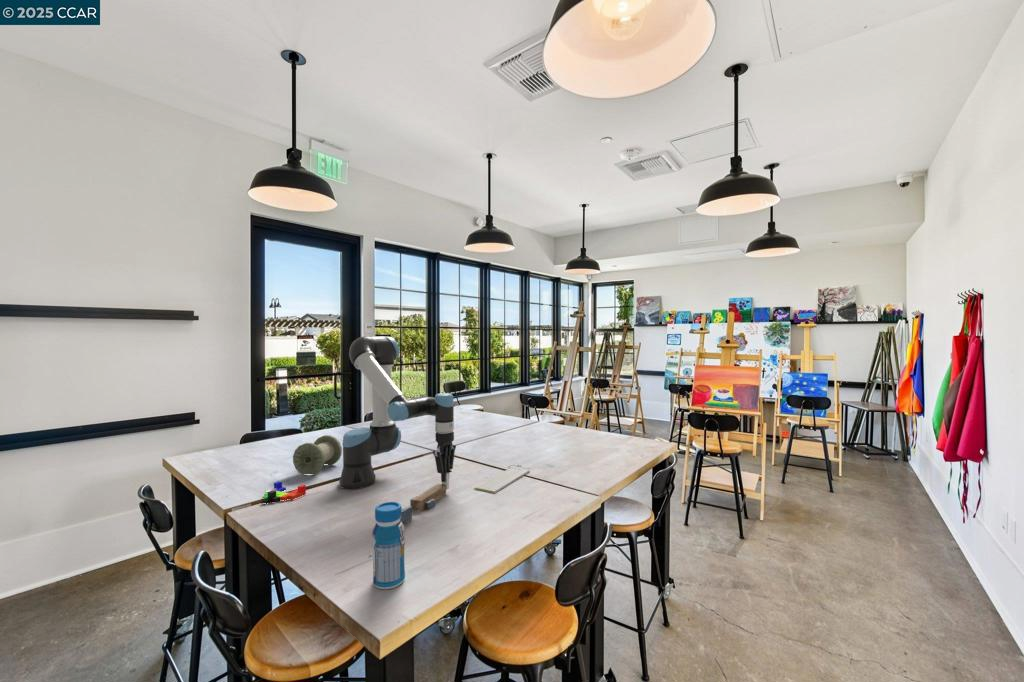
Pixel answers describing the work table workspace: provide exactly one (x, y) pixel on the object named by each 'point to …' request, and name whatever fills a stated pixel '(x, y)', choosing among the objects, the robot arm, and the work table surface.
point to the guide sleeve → (426, 503)
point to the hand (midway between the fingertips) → (445, 488)
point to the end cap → (406, 514)
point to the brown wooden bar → (428, 496)
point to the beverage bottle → (388, 546)
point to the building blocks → (282, 493)
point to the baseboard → (502, 480)
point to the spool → (317, 454)
